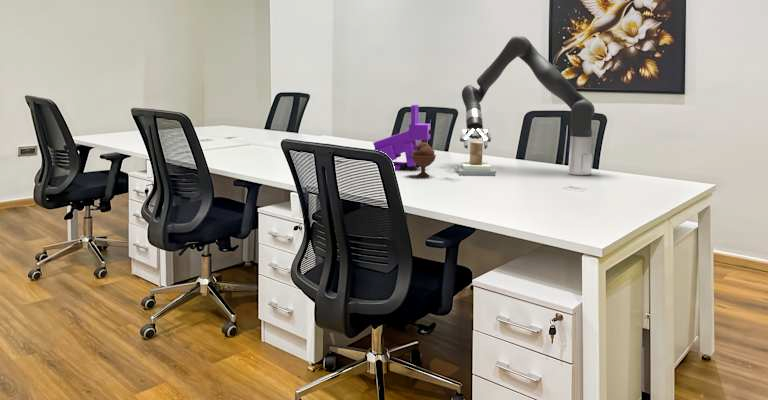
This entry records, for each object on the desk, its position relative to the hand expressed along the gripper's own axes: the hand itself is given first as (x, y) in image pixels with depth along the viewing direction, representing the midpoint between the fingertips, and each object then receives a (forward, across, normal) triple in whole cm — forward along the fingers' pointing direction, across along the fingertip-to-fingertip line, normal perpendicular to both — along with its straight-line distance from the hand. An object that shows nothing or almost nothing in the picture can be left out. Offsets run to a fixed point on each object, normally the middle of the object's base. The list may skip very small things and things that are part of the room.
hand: (476, 147), depth 290 cm
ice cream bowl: (+16, -24, 0) cm, 29 cm away
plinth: (+8, 0, +8) cm, 12 cm away
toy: (-1, -34, +17) cm, 38 cm away
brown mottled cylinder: (+6, 0, +5) cm, 8 cm away
